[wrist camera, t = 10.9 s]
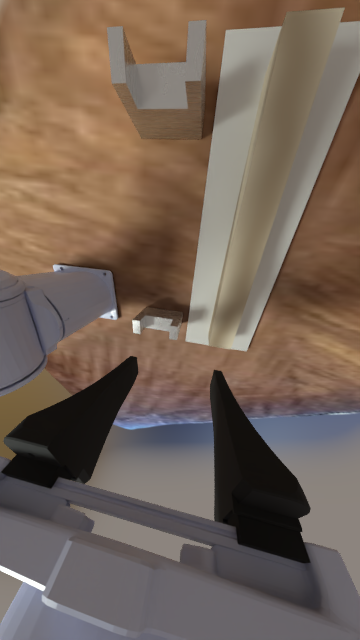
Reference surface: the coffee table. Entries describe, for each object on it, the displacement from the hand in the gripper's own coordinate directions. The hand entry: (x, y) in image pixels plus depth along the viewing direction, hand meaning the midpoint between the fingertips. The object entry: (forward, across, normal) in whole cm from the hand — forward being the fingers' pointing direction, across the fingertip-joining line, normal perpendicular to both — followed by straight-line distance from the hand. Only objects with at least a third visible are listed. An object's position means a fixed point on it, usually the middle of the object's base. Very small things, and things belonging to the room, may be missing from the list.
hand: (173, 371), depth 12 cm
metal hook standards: (+10, +3, -10) cm, 15 cm away
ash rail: (+10, -6, -10) cm, 15 cm away
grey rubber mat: (+10, -6, -10) cm, 16 cm away
